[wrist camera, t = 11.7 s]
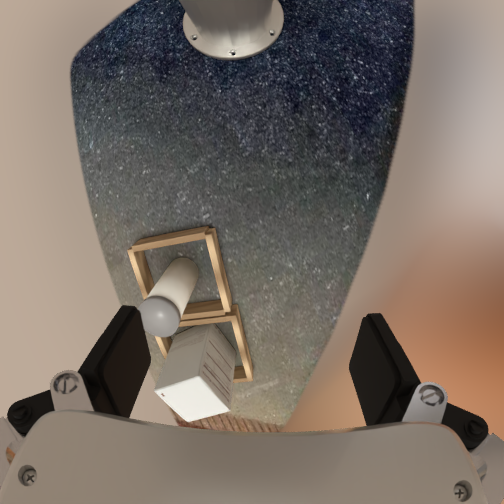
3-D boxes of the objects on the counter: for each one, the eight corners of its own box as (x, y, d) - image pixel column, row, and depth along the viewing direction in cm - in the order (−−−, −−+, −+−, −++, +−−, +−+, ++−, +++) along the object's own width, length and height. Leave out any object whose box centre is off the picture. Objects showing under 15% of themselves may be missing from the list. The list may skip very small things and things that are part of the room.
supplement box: (200, 365, 46) (186, 423, 34) (174, 333, 43) (151, 390, 31) (238, 351, 44) (231, 412, 32) (212, 317, 42) (197, 376, 30)
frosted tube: (165, 256, 39) (133, 299, 28) (198, 256, 39) (174, 300, 27) (170, 286, 40) (142, 335, 29) (201, 287, 40) (181, 338, 29)
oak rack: (131, 241, 38) (122, 248, 35) (218, 223, 37) (215, 230, 34) (181, 374, 46) (177, 385, 44) (253, 368, 45) (253, 380, 42)
